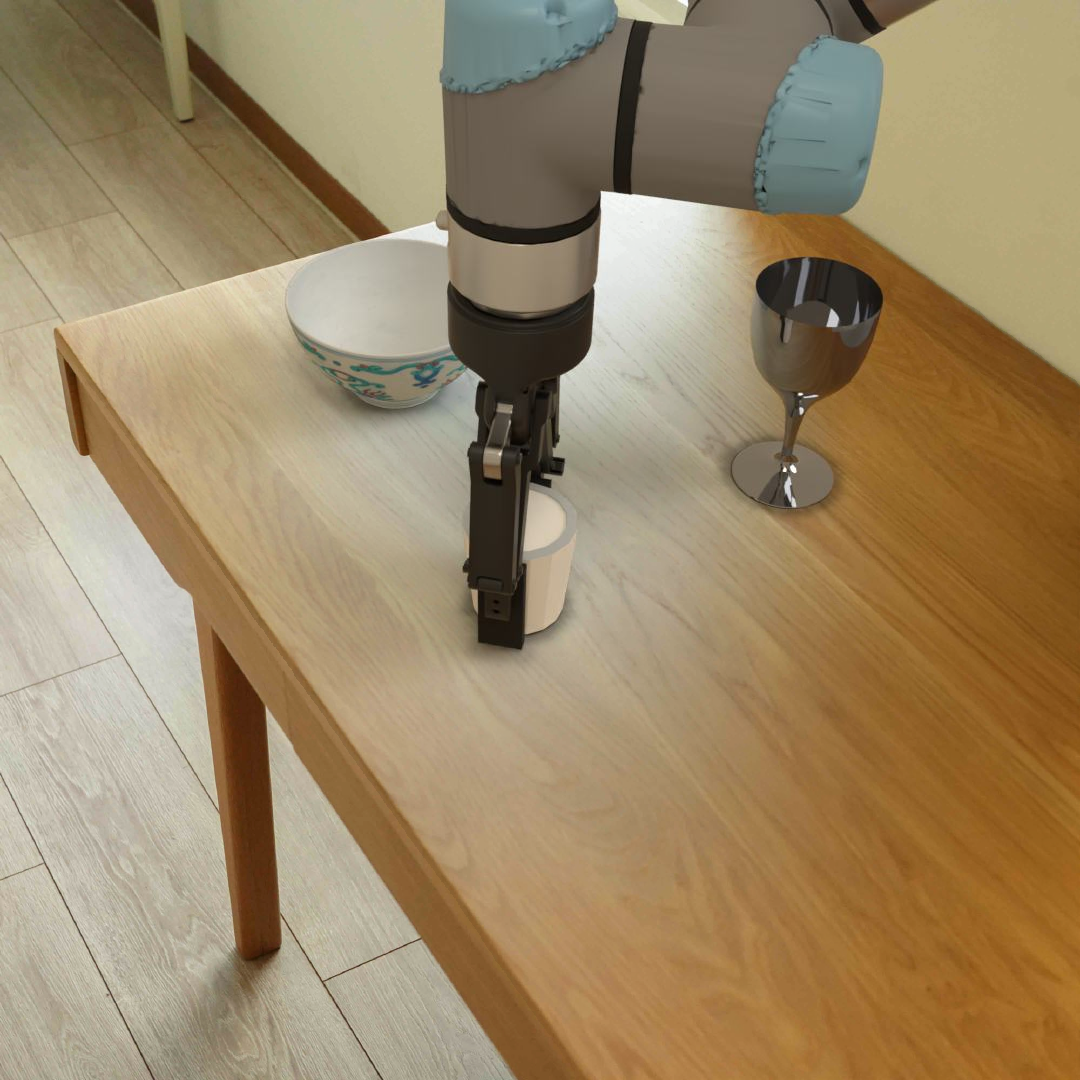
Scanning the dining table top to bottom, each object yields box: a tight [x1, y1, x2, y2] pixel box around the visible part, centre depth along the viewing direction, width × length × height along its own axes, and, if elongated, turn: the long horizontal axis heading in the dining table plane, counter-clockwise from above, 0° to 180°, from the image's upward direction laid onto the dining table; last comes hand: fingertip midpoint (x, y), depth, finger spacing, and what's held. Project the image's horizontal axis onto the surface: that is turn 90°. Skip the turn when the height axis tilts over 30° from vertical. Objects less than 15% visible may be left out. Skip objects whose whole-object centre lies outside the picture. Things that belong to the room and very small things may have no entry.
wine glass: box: [731, 256, 884, 509], centre depth 89 cm, size 8×8×15 cm
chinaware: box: [284, 238, 469, 410], centre depth 98 cm, size 15×15×8 cm
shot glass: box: [461, 483, 578, 635], centre depth 82 cm, size 7×7×7 cm
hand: (514, 597), depth 84 cm, fingers closed on shot glass, 7 cm apart
